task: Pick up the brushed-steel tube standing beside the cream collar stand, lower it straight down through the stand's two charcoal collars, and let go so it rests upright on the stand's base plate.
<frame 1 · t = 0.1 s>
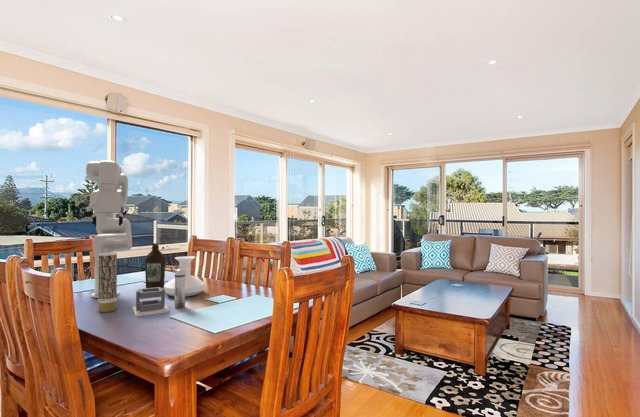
hand: (107, 225, 162), 37 cm above the table, tool pointing down, fingers open, 9 cm apart
olive oil: (154, 288, 201), on the table
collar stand: (150, 310, 157), on the table
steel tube: (179, 307, 162), on the table
bark-patterned cylinder: (107, 311, 156), on the table
white vase: (184, 294, 186), on the table
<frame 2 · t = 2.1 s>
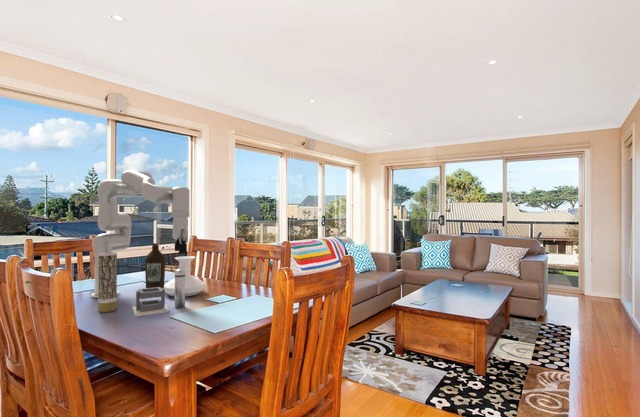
hand: (180, 251, 162), 25 cm above the table, tool pointing down, fingers open, 9 cm apart
nothing on the table moved.
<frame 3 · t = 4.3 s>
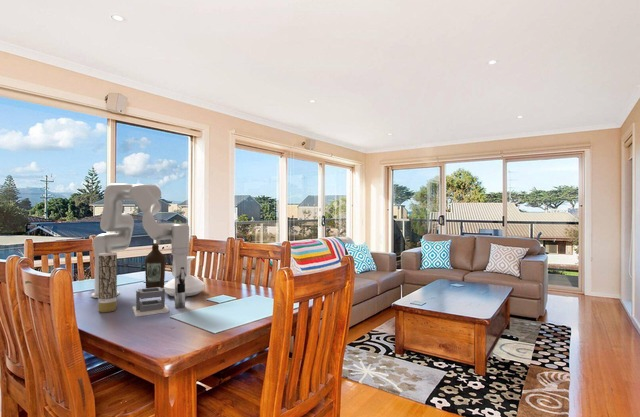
hand: (179, 291, 162), 7 cm above the table, tool pointing down, fingers closed on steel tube, 4 cm apart
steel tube: (179, 307, 162), on the table, touching gripper
everything else where it was.
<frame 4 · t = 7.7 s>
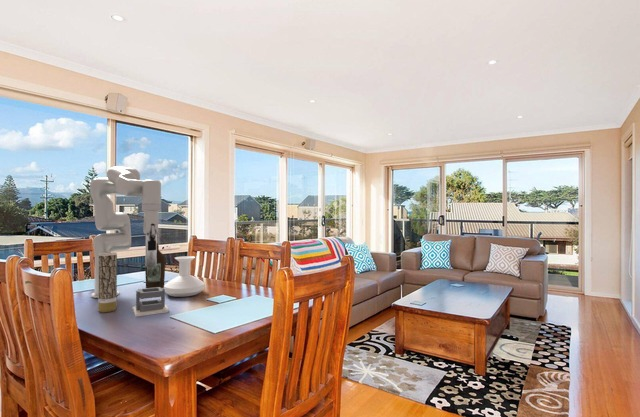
hand: (151, 249, 157), 27 cm above the table, tool pointing down, fingers closed on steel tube, 4 cm apart
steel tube: (150, 266, 157), point 20 cm above the table, touching gripper
everything else where it was.
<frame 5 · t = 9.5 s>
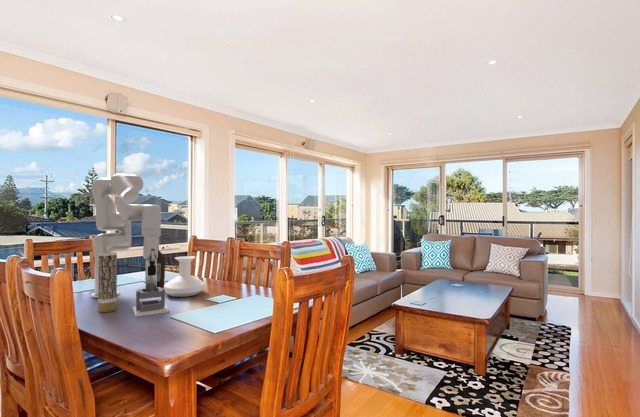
hand: (151, 273, 156), 16 cm above the table, tool pointing down, fingers closed on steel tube, 4 cm apart
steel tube: (151, 290, 156), point 9 cm above the table, touching gripper
everything else where it was.
when the fingers open (10 cm above the table, at t = 11.0 s): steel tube drops 2 cm, resting on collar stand.
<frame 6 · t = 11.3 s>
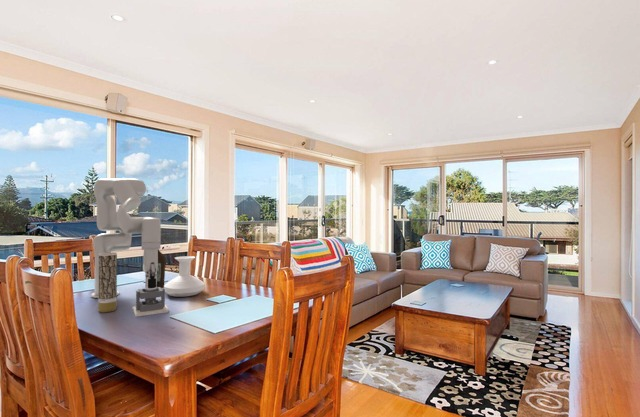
hand: (150, 286, 157), 11 cm above the table, tool pointing down, fingers open, 7 cm apart
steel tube: (150, 308, 157), point 1 cm above the table, touching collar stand
everything else where it was.
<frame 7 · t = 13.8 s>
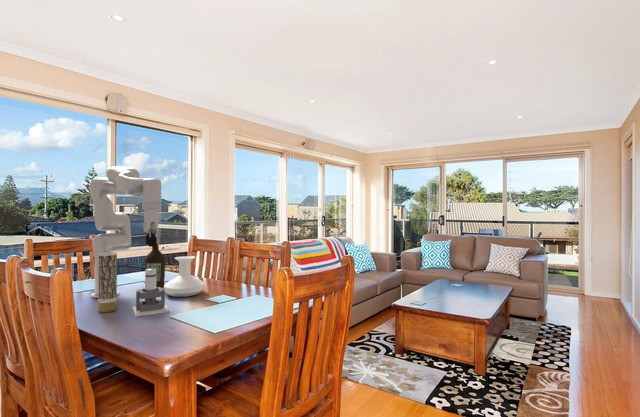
hand: (151, 245, 157), 29 cm above the table, tool pointing down, fingers open, 9 cm apart
nothing on the table moved.
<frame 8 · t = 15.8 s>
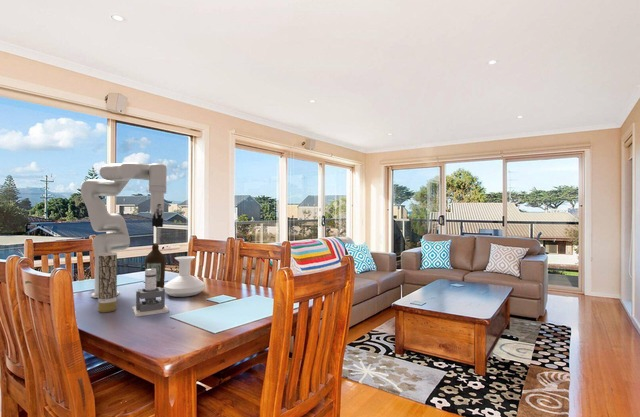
hand: (157, 226, 168), 36 cm above the table, tool pointing down, fingers open, 9 cm apart
nothing on the table moved.
at the end: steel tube 0.1 cm off-centre on the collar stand, point 1.0 cm above the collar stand's base; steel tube tilted 0°; the gripper is holding nothing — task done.
